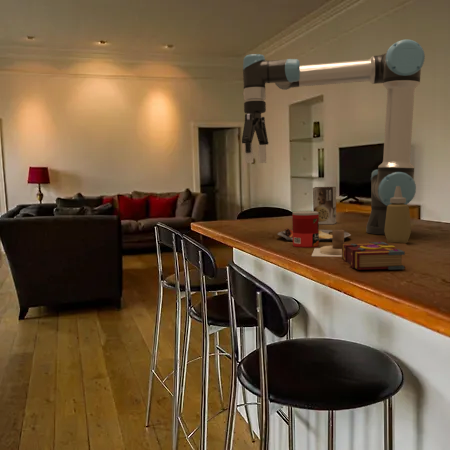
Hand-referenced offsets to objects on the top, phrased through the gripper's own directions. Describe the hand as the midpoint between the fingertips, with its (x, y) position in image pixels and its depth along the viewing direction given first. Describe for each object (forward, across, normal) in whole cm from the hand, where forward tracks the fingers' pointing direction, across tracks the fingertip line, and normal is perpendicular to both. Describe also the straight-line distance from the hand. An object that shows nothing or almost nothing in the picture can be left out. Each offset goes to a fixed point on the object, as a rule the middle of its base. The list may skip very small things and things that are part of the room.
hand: (256, 163), depth 178 cm
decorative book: (+27, +41, +44) cm, 66 cm away
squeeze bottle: (+27, +2, +48) cm, 55 cm away
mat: (+27, +27, +34) cm, 51 cm away
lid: (+26, +27, +34) cm, 51 cm away
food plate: (+27, -3, +19) cm, 34 cm away
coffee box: (+27, -51, +13) cm, 59 cm away
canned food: (+27, +17, +22) cm, 39 cm away
